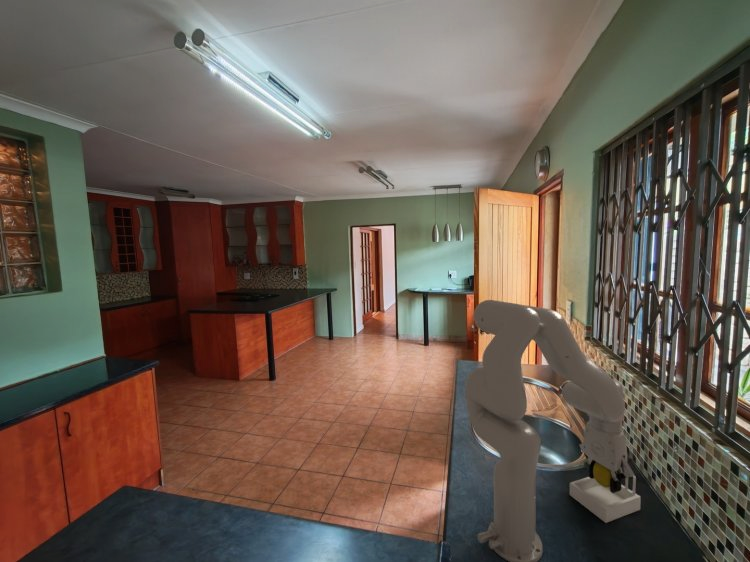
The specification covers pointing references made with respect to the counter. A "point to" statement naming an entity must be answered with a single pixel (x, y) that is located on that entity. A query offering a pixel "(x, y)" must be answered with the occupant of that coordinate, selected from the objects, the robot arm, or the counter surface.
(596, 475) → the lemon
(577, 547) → the counter surface
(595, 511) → the rack
